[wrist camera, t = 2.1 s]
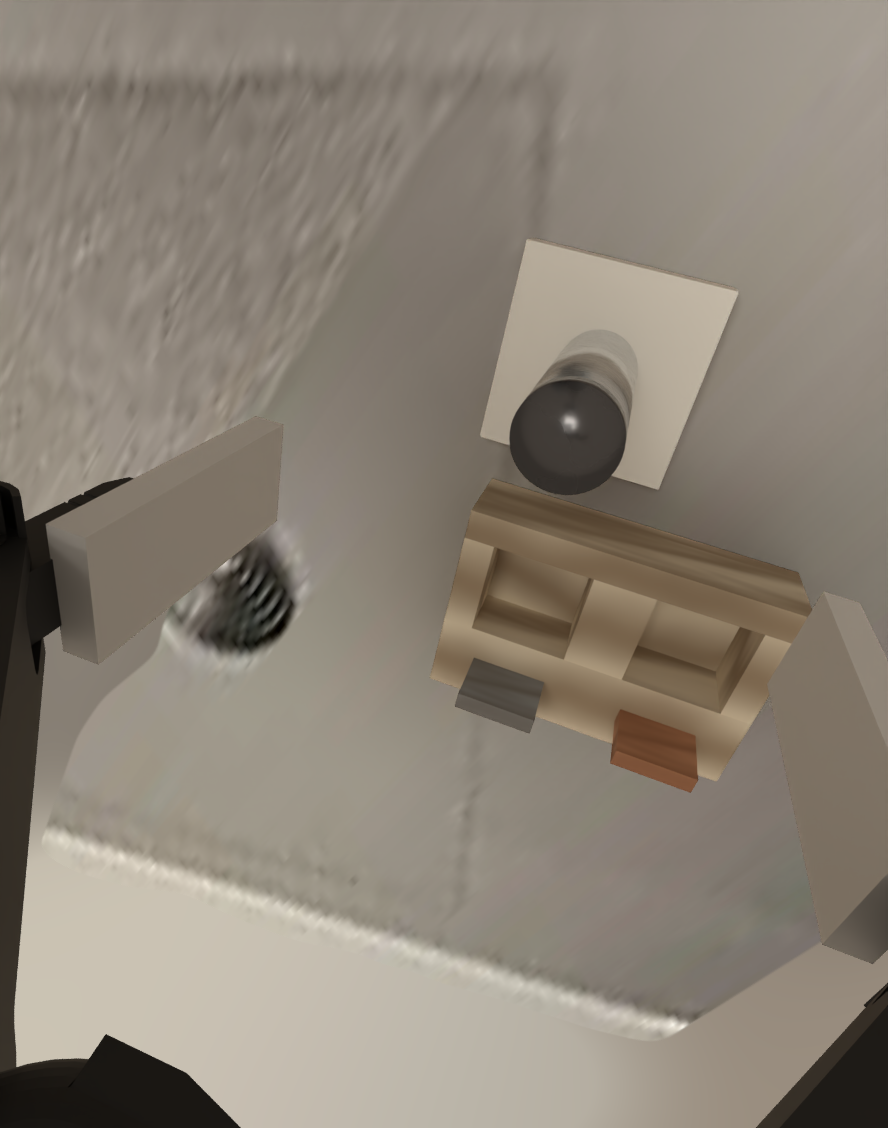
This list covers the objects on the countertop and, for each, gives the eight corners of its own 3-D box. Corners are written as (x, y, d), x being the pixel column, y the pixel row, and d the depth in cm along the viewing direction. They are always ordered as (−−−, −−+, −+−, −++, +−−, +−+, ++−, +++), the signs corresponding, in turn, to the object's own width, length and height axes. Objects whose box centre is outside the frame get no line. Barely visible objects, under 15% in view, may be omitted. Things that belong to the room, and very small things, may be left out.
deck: (534, 237, 33) (526, 239, 31) (735, 287, 31) (739, 291, 30) (487, 426, 38) (479, 436, 36) (658, 476, 37) (658, 489, 35)
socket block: (492, 478, 39) (453, 537, 32) (798, 572, 37) (830, 660, 30) (451, 634, 46) (411, 713, 38) (711, 725, 43) (720, 828, 36)
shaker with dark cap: (569, 320, 32) (526, 368, 22) (649, 341, 32) (642, 401, 22) (547, 399, 34) (497, 476, 24) (621, 420, 34) (603, 508, 24)
